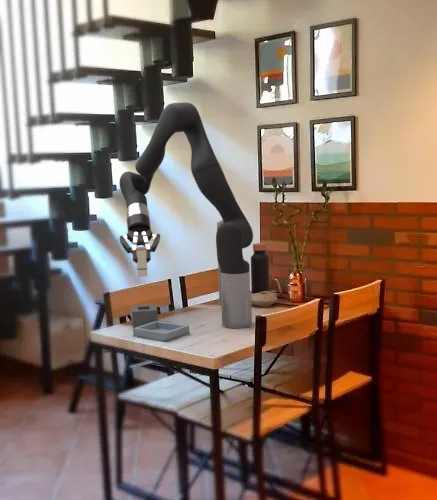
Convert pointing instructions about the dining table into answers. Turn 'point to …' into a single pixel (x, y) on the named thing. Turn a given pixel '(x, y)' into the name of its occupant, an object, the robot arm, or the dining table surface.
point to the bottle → (259, 269)
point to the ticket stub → (141, 262)
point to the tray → (161, 331)
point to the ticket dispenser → (143, 315)
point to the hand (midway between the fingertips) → (142, 261)
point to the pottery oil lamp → (263, 298)
